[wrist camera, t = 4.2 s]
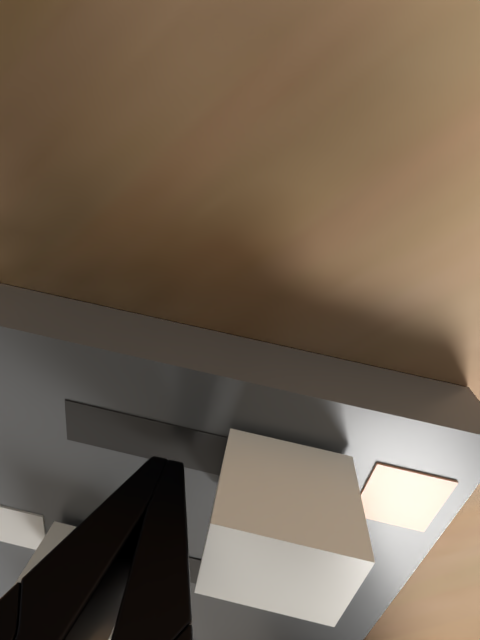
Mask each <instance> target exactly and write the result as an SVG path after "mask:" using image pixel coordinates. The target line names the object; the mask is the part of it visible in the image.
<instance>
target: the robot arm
mask: <svg viewBox="0 0 480 640" xmlns="http://www.w3.org/2000/svg"><path fill="white" fill-rule="evenodd" d="M191 624H192V605H191V586H190V567H189V549H188V530H187V511H186V492H185V473H184V464H183V463H182V462H179V461H174V460H168V459H166V458H161V457H157V456H153V457H151V458H150V459H148V460H147V461H146V462H145V463H144V464H143V465H142V466H141V467H140V468H139V469H138V470H137V471H136V472H135V473H133V474H132V475H131V476H130V477H129V478H128V479H127V480H126V481H125V482H124V483H123V484H122V485H121V486H120V487H119V488H117V489H116V490H115V491H114V492H113V493H112V494H111V495H110V496H109V497H108V498H107V499H106V500H105V501H104V502H103V503H102V504H100V505H99V506H98V507H97V508H96V509H95V510H94V511H93V512H92V513H91V514H90V515H89V516H88V517H87V518H86V519H84V520H83V521H82V522H81V523H80V524H79V525H78V526H77V527H76V528H75V529H74V530H73V531H72V532H71V533H70V534H68V535H67V536H66V537H65V538H64V539H63V540H62V541H61V542H60V543H59V544H58V545H57V546H56V547H55V548H54V549H52V550H51V551H50V552H49V553H48V554H47V555H46V556H45V557H44V558H43V559H42V560H41V561H40V562H39V563H38V564H37V565H35V566H34V567H33V568H32V569H31V570H30V571H29V572H28V573H27V574H26V575H25V576H24V577H23V578H22V579H21V583H20V582H17V583H16V584H15V585H14V586H13V587H12V588H11V589H10V590H9V591H8V592H6V593H5V594H4V595H3V596H2V597H1V598H0V640H108V639H109V637H110V634H111V632H112V630H113V627H114V630H113V634H112V638H111V640H194V639H193V626H192V625H191ZM114 625H115V626H114Z"/></svg>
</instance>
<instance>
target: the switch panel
mask: <svg viewBox="0 0 480 640" xmlns="http://www.w3.org/2000/svg"><path fill="white" fill-rule="evenodd" d="M230 428H231V429H236V430H240V431H244V432H249V433H253V434H257V435H262V436H266V437H270V438H275V439H279V440H283V441H288V442H292V443H296V444H301V445H305V446H309V447H314V448H318V449H322V450H327V451H331V452H335V453H340V454H344V455H348V456H352V457H353V461H354V466H355V471H356V475H357V480H358V485H359V490H360V494H361V499H362V504H363V508H364V513H365V518H366V522H367V527H368V532H369V537H370V541H371V546H372V551H373V555H374V560H375V564H374V565H373V567H372V569H371V570H370V572H369V573H368V575H367V576H366V578H365V580H364V581H363V583H362V584H361V586H360V587H359V589H358V591H357V592H356V594H355V595H354V597H353V598H352V600H351V602H350V603H349V605H348V606H347V608H346V609H345V611H344V613H343V614H342V616H341V617H340V619H339V620H338V622H337V624H336V625H335V627H331V626H327V625H323V624H319V623H315V622H311V621H307V620H303V619H299V618H295V617H291V616H287V615H283V614H279V613H275V612H271V611H267V610H262V609H258V608H254V607H250V606H246V605H242V604H238V603H234V602H230V601H226V600H222V599H218V598H214V597H210V596H206V595H202V594H198V593H194V592H195V587H196V583H197V578H198V573H199V569H200V564H201V559H202V554H203V550H204V545H205V540H206V536H207V531H208V526H209V521H210V517H211V512H212V507H213V503H214V498H215V493H216V489H217V484H218V480H219V476H220V471H221V467H222V462H223V458H224V453H225V449H226V445H227V440H228V436H229V431H230ZM153 456H157V457H161V458H166V459H168V460H174V461H179V462H182V463H183V464H184V473H185V492H186V511H187V530H188V549H189V567H190V586H191V605H192V624H191V625H192V626H193V639H194V640H364V638H365V637H366V636H367V634H368V633H369V632H370V630H371V629H372V628H373V626H374V625H375V624H376V622H377V621H378V619H379V618H380V617H381V615H382V614H383V613H384V611H385V610H386V609H387V607H388V606H389V605H390V603H391V602H392V601H393V599H394V598H395V597H396V595H397V594H398V593H399V591H400V590H401V588H402V587H403V586H404V584H405V583H406V582H407V580H408V579H409V578H410V576H411V575H412V574H413V572H414V571H415V570H416V568H417V567H418V566H419V564H420V563H421V561H422V560H423V559H424V557H425V556H426V555H427V553H428V552H429V551H430V549H431V548H432V547H433V545H434V544H435V543H436V541H437V540H438V539H439V537H440V536H441V534H442V533H443V532H444V530H445V529H446V528H447V526H448V525H449V524H450V522H451V521H452V520H453V518H454V517H455V516H456V514H457V513H458V512H459V510H460V509H461V508H462V506H463V505H464V503H465V502H466V501H467V499H468V498H469V497H470V495H471V494H472V493H473V491H474V490H475V489H476V487H477V486H478V485H479V483H480V401H479V400H478V399H477V398H476V396H475V395H474V394H473V392H472V391H471V390H470V388H469V387H464V386H460V385H455V384H451V383H446V382H442V381H437V380H433V379H428V378H424V377H419V376H415V375H410V374H406V373H401V372H397V371H392V370H388V369H383V368H379V367H374V366H370V365H365V364H361V363H356V362H352V361H347V360H343V359H338V358H334V357H329V356H325V355H320V354H316V353H311V352H307V351H302V350H298V349H294V348H289V347H285V346H280V345H276V344H271V343H267V342H262V341H258V340H253V339H249V338H244V337H240V336H235V335H231V334H226V333H222V332H217V331H213V330H208V329H204V328H199V327H195V326H190V325H186V324H181V323H177V322H172V321H168V320H163V319H159V318H154V317H150V316H145V315H141V314H136V313H132V312H127V311H123V310H118V309H114V308H109V307H105V306H100V305H96V304H91V303H87V302H82V301H78V300H73V299H69V298H64V297H60V296H55V295H51V294H46V293H42V292H37V291H33V290H28V289H24V288H19V287H15V286H10V285H6V284H1V283H0V598H1V597H2V596H3V595H4V594H5V593H6V592H8V591H9V590H10V589H11V588H12V587H13V586H14V584H15V583H16V581H17V579H18V578H19V576H20V575H21V573H22V571H23V570H24V568H25V567H26V565H27V564H28V562H29V560H30V559H31V557H32V556H33V554H34V553H35V551H36V549H37V548H38V546H39V545H40V543H41V541H42V540H43V538H44V537H45V535H46V534H47V532H48V530H49V529H50V527H51V526H52V524H53V523H54V521H55V522H59V523H63V524H68V525H72V526H76V527H77V526H78V525H79V524H80V523H81V522H82V521H83V520H84V519H86V518H87V517H88V516H89V515H90V514H91V513H92V512H93V511H94V510H95V509H96V508H97V507H98V506H99V505H100V504H102V503H103V502H104V501H105V500H106V499H107V498H108V497H109V496H110V495H111V494H112V493H113V492H114V491H115V490H116V489H117V488H119V487H120V486H121V485H122V484H123V483H124V482H125V481H126V480H127V479H128V478H129V477H130V476H131V475H132V474H133V473H135V472H136V471H137V470H138V469H139V468H140V467H141V466H142V465H143V464H144V463H145V462H146V461H147V460H148V459H150V458H151V457H153Z"/></svg>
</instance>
